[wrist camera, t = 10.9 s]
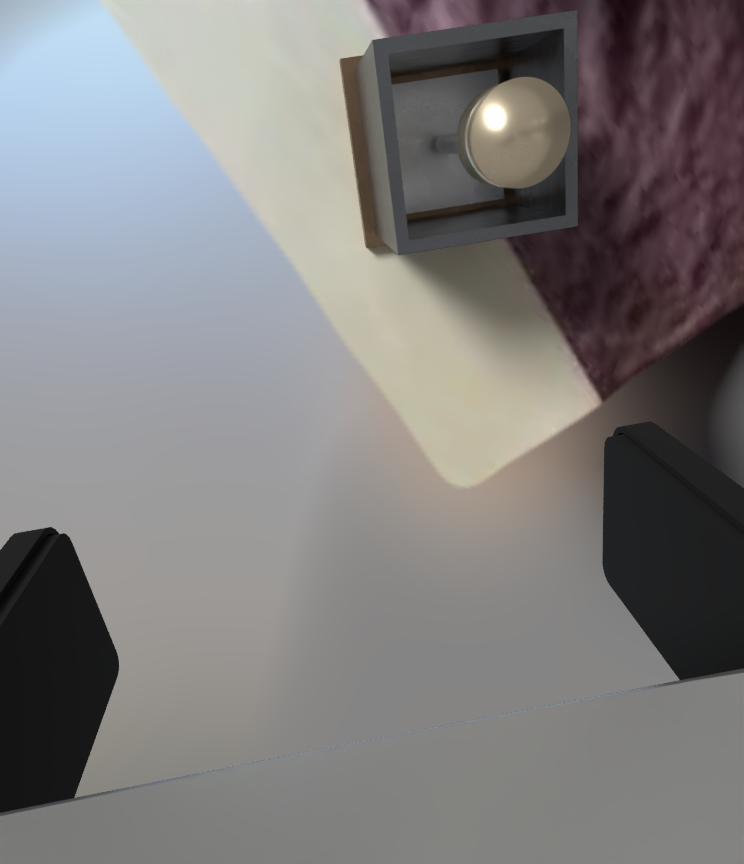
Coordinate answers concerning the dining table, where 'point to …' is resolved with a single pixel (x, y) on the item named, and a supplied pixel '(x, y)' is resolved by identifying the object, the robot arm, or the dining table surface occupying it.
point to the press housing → (446, 56)
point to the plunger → (476, 137)
